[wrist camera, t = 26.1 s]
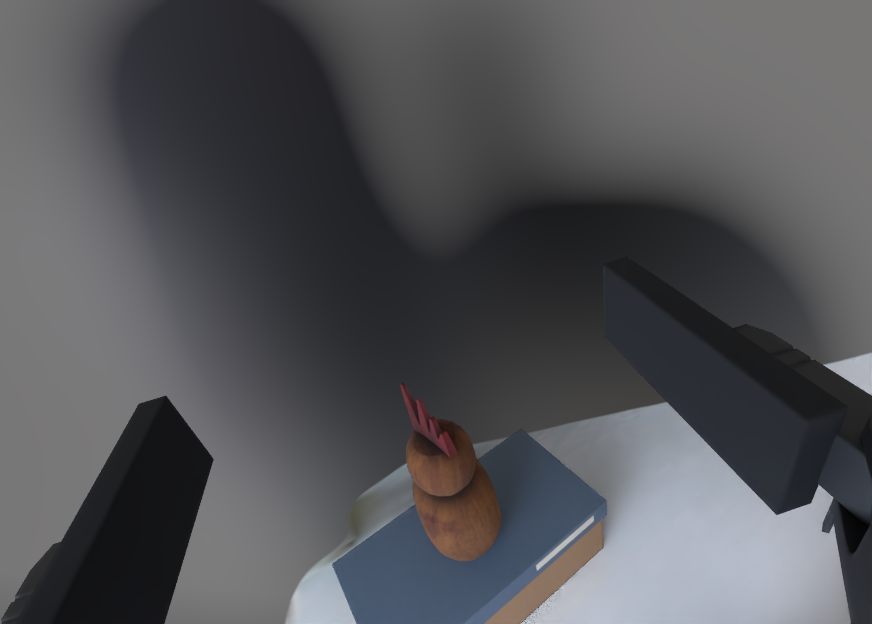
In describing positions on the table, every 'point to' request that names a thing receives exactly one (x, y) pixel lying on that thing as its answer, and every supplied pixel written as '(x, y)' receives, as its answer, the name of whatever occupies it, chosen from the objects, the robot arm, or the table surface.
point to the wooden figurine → (450, 486)
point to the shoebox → (499, 567)
